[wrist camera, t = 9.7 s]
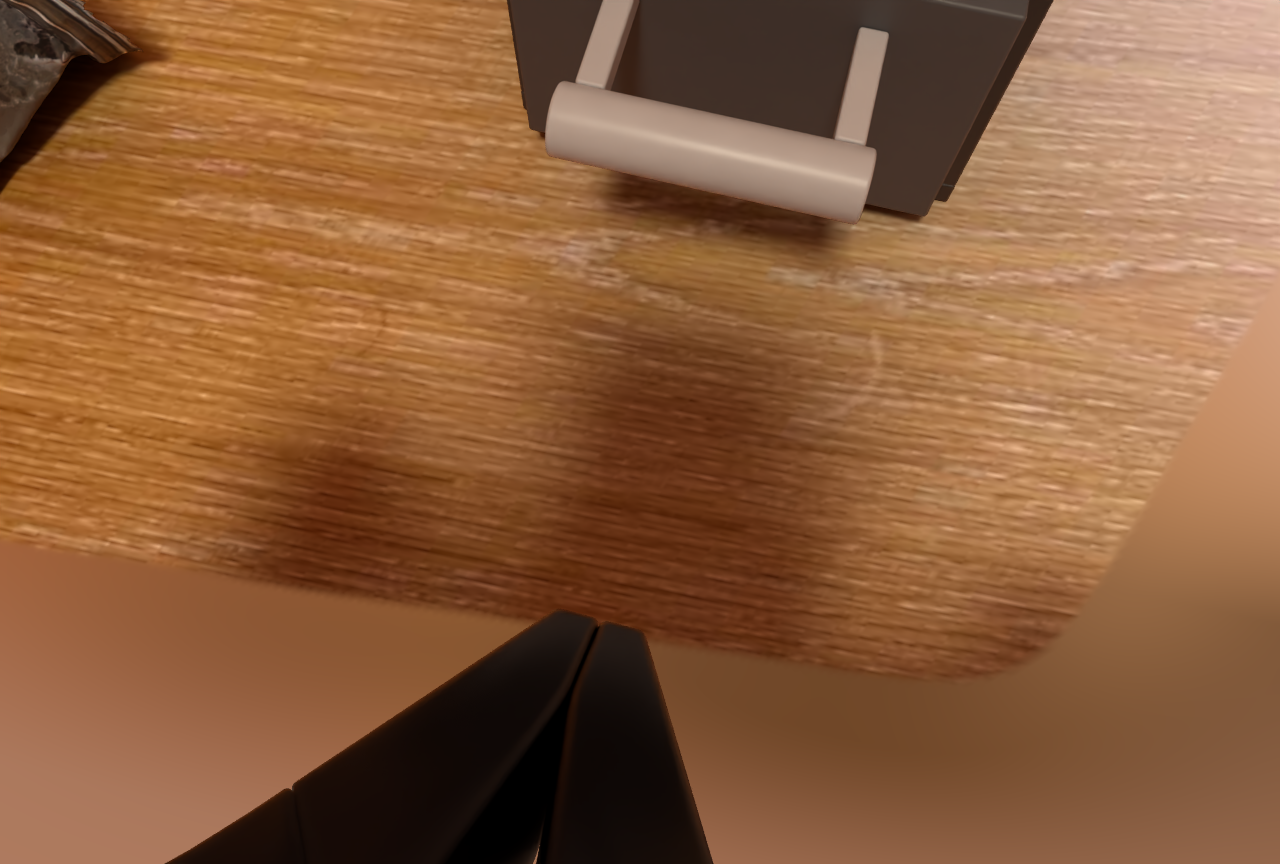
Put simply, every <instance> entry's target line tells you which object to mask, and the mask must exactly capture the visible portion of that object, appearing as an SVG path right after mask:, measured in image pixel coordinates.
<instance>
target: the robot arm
mask: <svg viewBox="0 0 1280 864" xmlns="http://www.w3.org/2000/svg"><path fill="white" fill-rule="evenodd" d="M539 845H540V846H539ZM538 848H539V852H538V857H537V862H536V864H713V861H712V857H711V854H710V851H709V848H708V844H707V841H706V837H705V834H704V831H703V827H702V824H701V821H700V817H699V814H698V810H697V807H696V804H695V800H694V797H693V794H692V790H691V787H690V784H689V780H688V777H687V774H686V770H685V767H684V764H683V760H682V757H681V754H680V750H679V747H678V743H677V740H676V736H675V733H674V730H673V726H672V723H671V720H670V716H669V713H668V709H667V706H666V703H665V699H664V696H663V693H662V689H661V686H660V683H659V680H658V676H657V673H656V669H655V666H654V662H653V659H652V656H651V652H650V649H649V646H648V642H647V639H646V636H645V634H644V633H643V632H642V631H641V630H639V629H636V628H632V627H628V626H625V625H621V624H617V623H613V622H609V621H605V622H602V623H601V624H600V625H599V626H598V621H597V620H596V619H595V618H593V617H590V616H587V615H583V614H579V613H575V612H571V611H568V610H564V609H557V610H554V611H552V612H550V613H549V614H547V615H546V616H544V617H543V618H541V619H540V620H538V621H537V622H535V623H534V624H532V625H531V626H529V627H528V628H526V629H525V630H523V631H522V632H520V633H519V634H517V635H516V636H514V637H513V638H511V639H510V640H508V641H507V642H505V643H504V644H503V645H501V646H499V647H498V648H496V649H495V650H493V651H492V652H490V653H489V654H487V655H486V656H484V657H483V658H481V659H480V660H478V661H477V662H475V663H474V664H472V665H471V666H469V667H468V668H466V669H465V670H463V671H462V672H460V673H459V674H457V675H456V676H454V677H453V678H451V679H450V680H448V681H447V682H445V683H444V684H442V685H441V686H439V687H438V688H436V689H435V690H433V691H432V692H430V693H429V694H427V695H426V696H424V697H423V698H421V699H420V700H418V701H417V702H415V703H414V704H412V705H411V706H409V707H408V708H406V709H405V710H403V711H402V712H400V713H399V714H397V715H396V716H394V717H393V718H391V719H390V720H388V721H387V722H385V723H384V724H382V725H381V726H379V727H378V728H376V729H375V730H373V731H372V732H370V733H369V734H367V735H366V736H364V737H363V738H361V739H360V740H358V741H357V742H355V743H354V744H352V745H351V746H349V747H348V748H346V749H345V750H343V751H342V752H340V753H339V754H337V755H336V756H334V757H332V758H331V759H329V760H328V761H326V762H325V763H323V764H322V765H320V766H319V767H317V768H316V769H314V770H313V771H311V772H310V773H308V774H307V775H306V776H304V777H302V778H301V779H300V780H298V781H297V782H295V783H294V784H293V786H292V790H291V789H284V790H282V791H281V792H279V793H278V794H276V795H275V796H274V797H272V798H270V799H269V800H267V801H266V802H264V803H263V804H261V805H260V806H258V807H257V808H255V809H254V810H252V811H251V812H249V813H248V814H246V815H245V816H243V817H241V818H240V819H238V820H236V821H235V822H233V823H232V824H230V825H228V826H227V827H225V828H224V829H222V830H221V831H219V832H217V833H216V834H214V835H212V836H211V837H209V838H208V839H206V840H205V841H203V842H201V843H200V844H198V845H197V846H195V847H193V848H192V849H190V850H188V851H187V852H185V853H183V854H181V855H179V856H178V857H176V858H174V859H172V860H171V861H169V862H167V863H165V864H533V862H534V860H535V857H536V854H537V851H538Z"/></svg>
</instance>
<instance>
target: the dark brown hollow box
mask: <svg viewBox="0 0 1280 864" xmlns="http://www.w3.org/2000/svg"><path fill="white" fill-rule="evenodd" d="M1053 1H1054V0H1029V5H1028V11H1027V18H1026V21H1025V23H1024V25H1023V27H1022V28H1021V30H1020V32H1019V34H1018V36H1017V38H1016V40H1015V42H1014V44H1013V46H1012V48H1011V50H1010V52H1009V54H1008V56H1007V58H1006V60H1005V62H1004V64H1003V66H1002V68H1001V70H1000V72H999V74H998V76H997V78H996V80H995V82H994V84H993V85H992V87H991V89H990V91H989V93H988V95H987V97H986V99H985V101H984V103H983V105H982V107H981V109H980V111H979V113H978V115H977V117H976V119H975V121H974V123H973V125H972V127H971V129H970V131H969V133H968V135H967V137H966V139H965V141H964V142H963V144H962V146H961V148H960V150H959V152H958V154H957V156H956V158H955V160H954V162H953V164H952V166H951V168H950V170H949V172H948V174H947V176H946V178H945V180H944V182H943V184H942V186H941V188H940V190H939V192H938V194H937V196H936V198H935V199H936V200H941V201H947V200H948V198H949V196H950V195H951V193H952V191H953V189H954V187H955V185H956V183H957V181H958V179H959V177H960V176H961V174H962V172H963V170H964V168H965V166H966V164H967V162H968V161H969V159H970V157H971V155H972V153H973V151H974V149H975V147H976V145H977V144H978V142H979V140H980V138H981V136H982V134H983V132H984V130H985V129H986V127H987V125H988V123H989V121H990V119H991V117H992V115H993V113H994V112H995V110H996V108H997V106H998V104H999V102H1000V100H1001V98H1002V97H1003V95H1004V93H1005V91H1006V89H1007V87H1008V85H1009V83H1010V81H1011V80H1012V78H1013V76H1014V74H1015V72H1016V70H1017V68H1018V66H1019V65H1020V63H1021V61H1022V59H1023V57H1024V55H1025V53H1026V51H1027V49H1028V48H1029V46H1030V44H1031V42H1032V40H1033V38H1034V36H1035V34H1036V33H1037V31H1038V29H1039V27H1040V25H1041V23H1042V21H1043V19H1044V17H1045V16H1046V14H1047V12H1048V10H1049V8H1050V6H1051V4H1052V2H1053ZM507 4H508V10H509V16H510V22H511V29H512V35H513V41H514V48H515V54H516V60H517V66H518V73H519V79H520V85H521V90H522V91H521V93H522V100H523V106H524V108H525V109H527V107H526V101H525V94H524V88H523V82H522V75H521V69H520V62H519V56H518V50H517V43H516V37H515V30H514V24H513V17H512V11H511V5H510V0H507Z"/></svg>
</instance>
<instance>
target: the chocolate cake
mask: <svg viewBox="0 0 1280 864" xmlns="http://www.w3.org/2000/svg"><path fill="white" fill-rule="evenodd" d="M85 3H86V2H83V1H80V0H0V163H1V161H2V160H3V159H4V158H5V157H6V156H7V155H8V154H9V153H10V152H11V151H12V150H13V148H14V147H15V145H16V143H17V142H18V140H19V138H20V137H21V135H22V133H23V132H24V130H25V129H26V128H27V126H28V124H29V122H30V120H31V118H32V117H33V115H34V114H35V112H36V111H37V109H38V108H39V107H40V105H41V104H42V102H43V100H44V99H45V98H46V97H47V95H48V94H49V93H50V91H51V90H52V88H53V87H54V86H55V85H56V84H57V82H58V80H59V78H60V77H61V75H62V73H63V71H64V69H65V67H66V66H67V64H68V63H69V61H70V60H71V59H73V58H75V57H77V56H80V55H88V56H89V57H90V58H91V59H93V60H95V61H97V62H99V63H107V62H110V61H112V60H114V59H116V58H117V57H119V56H120V55H122V54H124V53H127V52H132V51H143V50H142V49H140V47H137V46H136V45H134V44H133V43H131V42H130V41H129V39H130V38H128V37H126V36H124V35H123V34H121V33H119V32H117V31H115V30H114V29H113V28H111V27H110V26H109V25H108V24H106V23H105V22H104V21H103V22H101V21H99V20H97V19H96V18H94V17H93V16H92V15H93V13H92V12H90V11H87V10H84V7H83V6H82V5H84V4H85Z"/></svg>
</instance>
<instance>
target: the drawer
mask: <svg viewBox="0 0 1280 864" xmlns="http://www.w3.org/2000/svg"><path fill="white" fill-rule="evenodd" d="M510 5H511V11H512V17H513V24H514V30H515V37H516V43H517V50H518V56H519V62H520V69H521V75H522V82H523V88H524V94H525V101H526V107H527V114H528V120H529V127H530V129H532V130H535V131H540V132H544V133H545V146H546V151H547V154H548V155H549V156H551V157H555V158H559V159H564V160H568V161H573V162H577V163H582V164H586V165H591V166H595V167H600V168H604V169H609V170H613V171H617V172H622V173H626V174H631V175H635V176H640V177H644V178H649V179H653V180H658V181H662V182H667V183H671V184H676V185H680V186H685V187H689V188H693V189H698V190H702V191H707V192H711V193H716V194H720V195H725V196H729V197H734V198H738V199H743V200H747V201H752V202H756V203H760V204H765V205H769V206H774V207H778V208H783V209H787V210H792V211H796V212H801V213H805V214H810V215H814V216H819V217H823V218H828V219H832V220H836V221H841V222H845V223H850V224H856V223H857V222H858V221H859V219H860V216H861V214H862V211H863V208H864V205H865V204H869V205H873V206H878V207H882V208H887V209H891V210H896V211H900V212H905V213H910V214H914V215H919V216H926V215H927V213H928V211H929V209H930V207H931V205H932V203H933V201H934V199H935V198H936V196H937V194H938V192H939V190H940V188H941V186H942V184H943V182H944V180H945V178H946V176H947V174H948V172H949V170H950V168H951V166H952V164H953V162H954V160H955V158H956V156H957V154H958V152H959V150H960V148H961V146H962V144H963V142H964V141H965V139H966V137H967V135H968V133H969V131H970V129H971V127H972V125H973V123H974V121H975V119H976V117H977V115H978V113H979V111H980V109H981V107H982V105H983V103H984V101H985V99H986V97H987V95H988V93H989V91H990V89H991V87H992V85H993V84H994V82H995V80H996V78H997V76H998V74H999V72H1000V70H1001V68H1002V66H1003V64H1004V62H1005V60H1006V58H1007V56H1008V54H1009V52H1010V50H1011V48H1012V46H1013V44H1014V42H1015V40H1016V38H1017V36H1018V34H1019V32H1020V30H1021V28H1022V27H1023V25H1024V23H1025V21H1026V18H1027V11H1028V5H1029V0H510Z"/></svg>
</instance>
